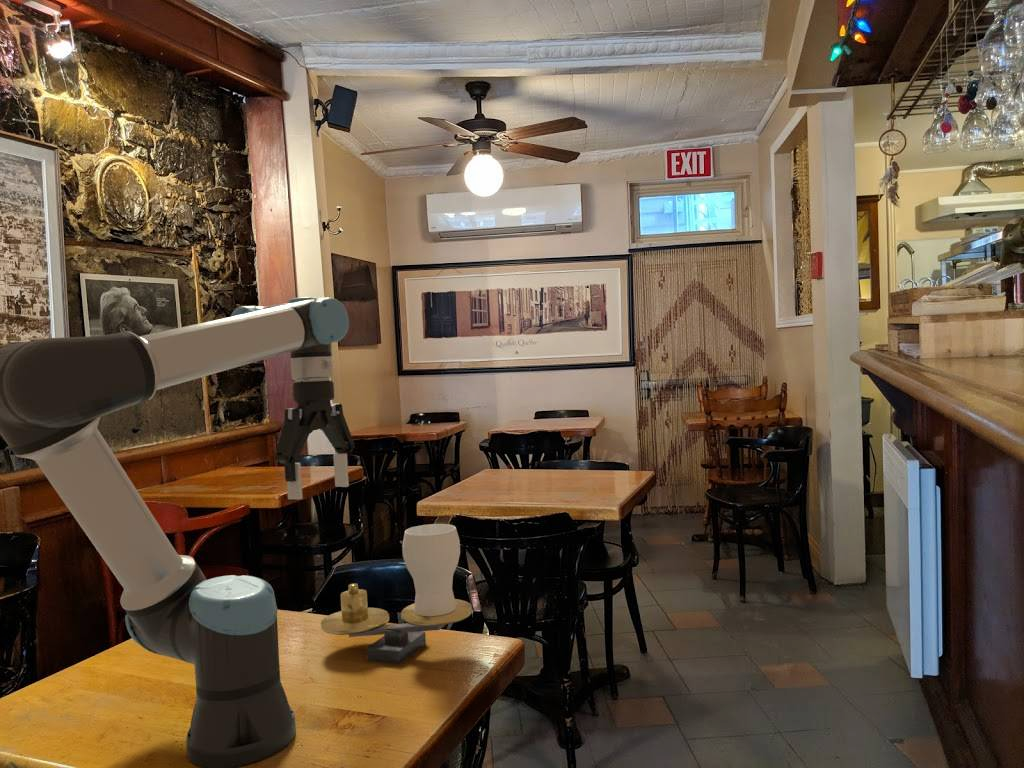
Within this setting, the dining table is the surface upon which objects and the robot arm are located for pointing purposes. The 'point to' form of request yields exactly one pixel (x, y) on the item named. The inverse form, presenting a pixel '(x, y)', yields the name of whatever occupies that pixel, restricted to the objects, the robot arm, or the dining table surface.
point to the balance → (372, 621)
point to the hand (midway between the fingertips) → (319, 492)
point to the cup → (432, 566)
